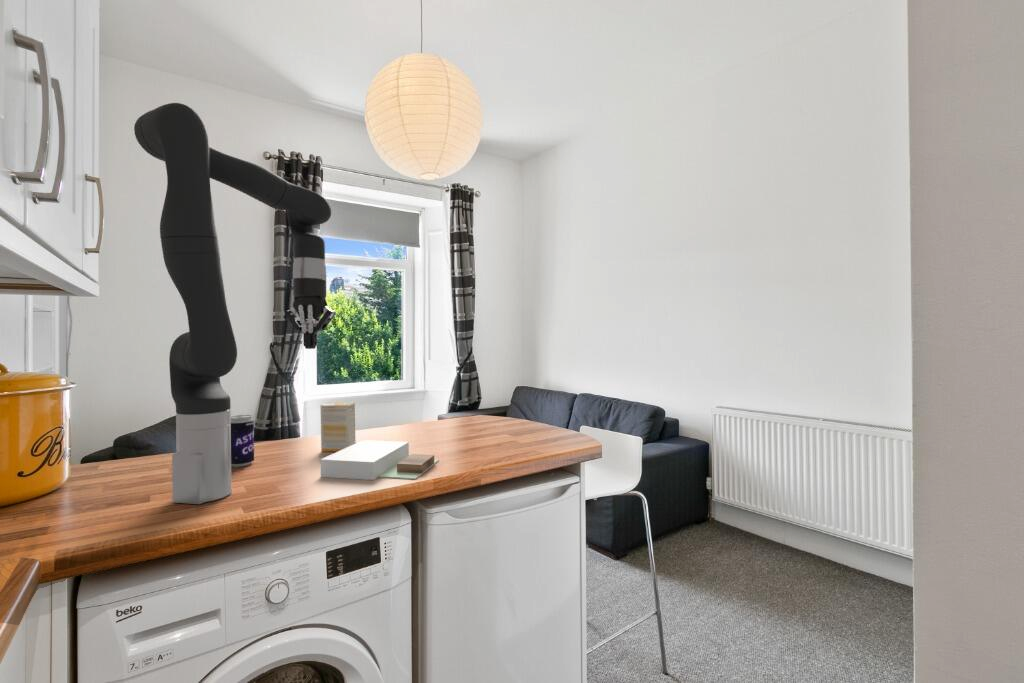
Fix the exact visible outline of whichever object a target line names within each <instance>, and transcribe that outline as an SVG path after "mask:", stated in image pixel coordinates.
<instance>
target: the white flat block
mask: <svg viewBox="0 0 1024 683" xmlns="http://www.w3.org/2000/svg"><path fill="white" fill-rule="evenodd" d="M409 443H410V442H408V441H391V440H390V441H389V440H370V439H369V440H367V439H362V440H360V441H358V442H356V444H353V445H351V446H349V447H347V448H345V449H342V450H340V451H338V452H337V451H335V453H334V452H333V453H331V454H329V455H327V456H325V457H322V458H321V459H320V478H331V479H332V478H334V479H349V480H354V479H355V480H367V481H369V480H370V481H374V480H376V479H377V478H379V477H378V476H379V475H380V474H382V473H383V472H385V471H386V470H388V469H390V468H391V467H393V466H394V465H396V464H397V463H399V462H400V461H402V460H403V459H405V458H406V457H408V456H409V455H410V450H409V447H410V445H409Z"/></svg>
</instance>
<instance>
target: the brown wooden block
mask: <svg viewBox="0 0 1024 683" xmlns="http://www.w3.org/2000/svg"><path fill="white" fill-rule="evenodd" d="M434 459H435V454H417V453H410V454H409V456H408V457H406V458H405V459H403V460H402V461H400V462H399V463H397V472H404V473H423V472H424V471H425V470H426V469H428V468H429V467H430V466H431V465H433V464H434ZM434 465H435V464H434ZM434 465H433V466H434ZM430 468H431V467H430ZM430 468H429V469H430ZM429 469H428V470H429ZM425 472H426V471H425ZM425 472H424V473H425ZM424 473H423V474H424Z"/></svg>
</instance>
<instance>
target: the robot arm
mask: <svg viewBox="0 0 1024 683" xmlns="http://www.w3.org/2000/svg"><path fill="white" fill-rule="evenodd" d="M133 127H134V128H133V130H134V136H135V139H136V141H137V142H138V145H140V147H141V148H142V150H144V151H145V152H146V153H147V154H149V156H152V157H153V158H154V159H155V158H156V159H158V160H160V161H161V162H164V163H165V170H166V176H167V177H166V178H167V180H166V181H167V184H166V185H167V186H166V193H165V198H164V202H163V206H162V210H161V216H160V222H159V235H160V236H159V237H160V238H159V239H160V243H161V250H162V258H163V261H164V265H165V266H164V267H165V268H166V271H167V273H168V275H169V277H170V279H171V280H172V283H173V284H174V287H175V289H176V290H177V292H178V293H179V295H180V298H181V299H182V301H183V303H184V307H185V310H186V315H187V324H188V332H185V333H182V334H180V335H179V336H178V337H176V339H175V340H174V341H173V342H172V345H171V347H170V351H169V359H168V360H169V362H168V363H169V380H170V381H169V382H170V383H169V384H170V393H171V398H172V399H173V402H174V405H175V412H176V413H175V423H176V425H175V428H176V429H175V433H176V434H175V437H176V443H175V444H176V445H175V446H176V452H174V453H172V455H171V465H172V466H171V467H172V468H171V469H172V470H171V472H172V476H171V477H172V479H171V480H172V482H171V483H172V484H171V485H172V503H174V504H175V503H178V504H191V505H201V504H204V503H206V502H207V503H208V502H213V501H217V500H219V499H222V498H225V497H227V496H229V495H230V494H232V465H231V417H232V416H231V397H230V395H229V394H228V392H226V391H225V390H224V389H223V387H222V385H221V377H224V376H226V375H227V374H229V373H230V372H231V371H232V370H233V368H234V367H235V365H236V363H237V359H238V348H237V341H236V338H235V334H234V331H233V326H232V322H231V319H230V315H229V310H228V304H227V300H226V294H225V293H226V292H225V285H224V280H223V274H222V266H221V265H222V264H221V254H220V245H219V239H218V233H217V229H216V222H215V214H214V212H215V211H214V206H213V197H212V190H211V189H212V188H211V180H210V179H212V180H214V181H216V182H218V183H222V184H224V185H226V186H228V187H229V188H232V189H235V190H236V191H239V192H241V193H243V194H245V195H246V196H249V197H251V198H253V199H255V200H257V201H258V202H261V203H262V204H264V205H266V206H268V207H271V208H273V209H274V210H278V211H286V215H287V216H286V217H287V221H288V225H289V230H290V234H291V236H292V238H293V239H292V240H293V265H292V295H293V297H294V301H293V303H292V307H291V308H290V309H288V310H285V311H284V315H285V317H286V318H287V320H289V322H290V324H291V325H292V326H293V328H294V329H295V331H298V332H301V333H302V336H303V338H302V339H303V340H302V341H303V346H304V348H305V349H307V350H309V349H310V350H312V349H314V350H315V349H316V347H317V346H318V333H320V332H323V331H325V330H326V329H327V327H328V326H329V324H330V322H331V321H332V320H333V319H334V317H335V316H336V314H337V312H336V311H335V310H332V309H331V308H329V306H328V302H327V300H326V298H327V266H326V243H325V242H326V241H325V240H324V238H323V237H322V236H320V235H318V234H316V233H315V230H314V226H318V225H322V224H324V223H327V222H328V221H329V219H331V216H332V207H331V205H330V203H329V201H328V200H327V199H326V198H325V197H324V196H322V195H321V194H320V193H318V192H317V191H316V192H315V191H313V190H311V189H308V188H305V187H304V186H300V185H298V184H294V183H292V182H289V181H287V180H286V179H284V178H283V177H280V176H279V175H278V174H275V173H274V172H272V171H270V170H269V169H267V168H265V167H263V166H260V165H258V164H256V163H253V162H250V161H249V160H248V161H247V160H244V159H241V158H238V157H234V156H232V155H229V154H227V153H224V152H221V151H219V150H216V149H215V148H212V147H210V140H209V134H208V131H207V130H208V129H207V127H206V124H205V123H204V121H203V119H202V118H201V116H200V115H199V114H198V112H197V111H195V110H194V109H193V108H192V107H190V106H188V105H186V104H183V103H179V102H171V103H170V102H169V103H167V104H163V105H160V106H158V107H156V108H154V109H152V110H149V111H147V112H145V113H144V114H142V115H141V116H139V117H138V118H137V120H136V121H135V123H134V126H133Z"/></svg>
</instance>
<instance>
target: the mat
mask: <svg viewBox="0 0 1024 683" xmlns="http://www.w3.org/2000/svg"><path fill="white" fill-rule="evenodd" d="M439 461H440V460H439V459H436V458H434V464H433V465H431V466H430V467H429V468H428V469H426V470H425V471H424V472H423V473H404V472H397V464H396V465H394V466H393V467H391V468H390V469H388V470H386V471H385V472H383V473H382V474H380V475H379V476H378V478H382V479H401V480H417V479H418V478H420V477H421V476H422V475H423V474H424V473H426V472H427V471H428V470H429V469H431V468H432V467H433V466H434V465H435V464H437V463H438V462H439Z"/></svg>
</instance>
